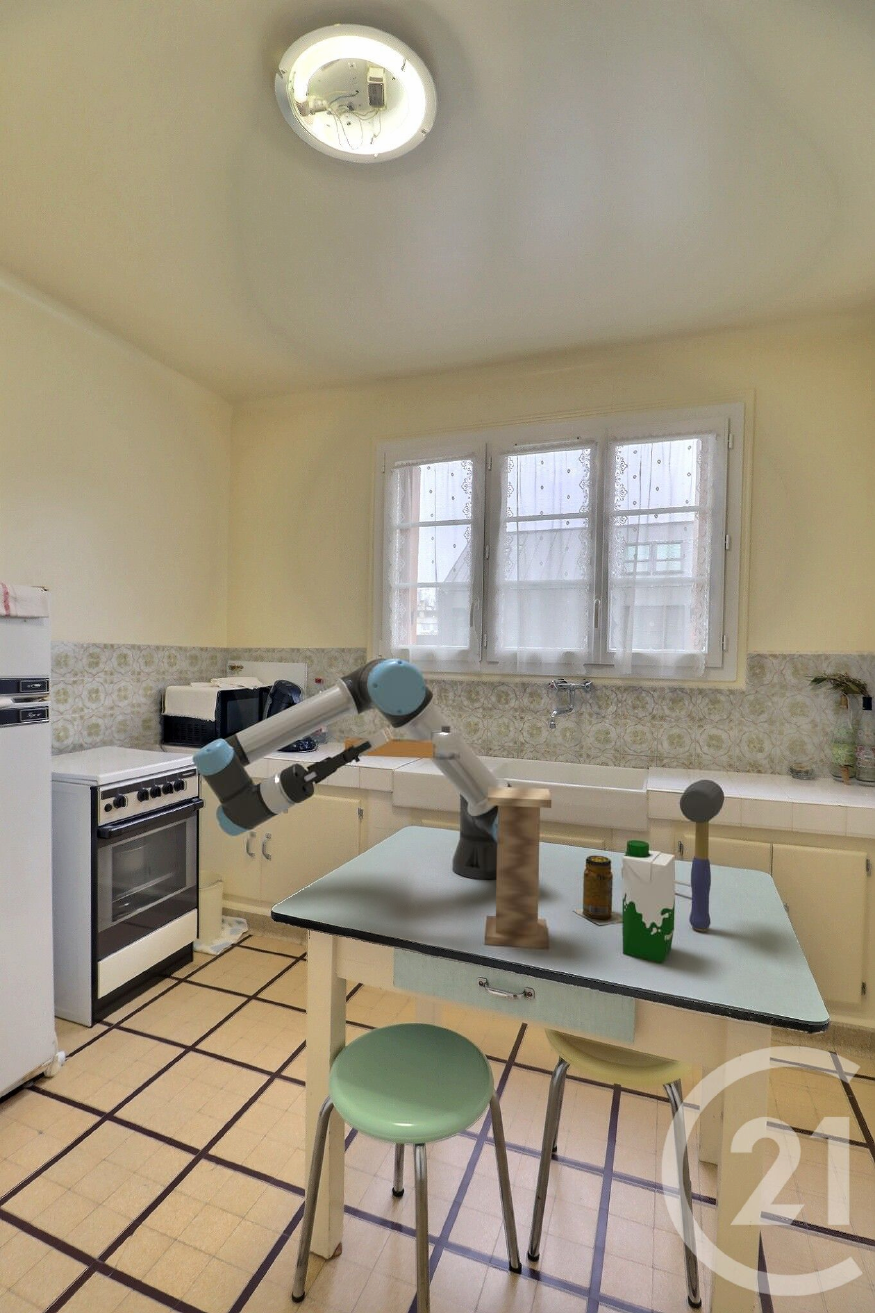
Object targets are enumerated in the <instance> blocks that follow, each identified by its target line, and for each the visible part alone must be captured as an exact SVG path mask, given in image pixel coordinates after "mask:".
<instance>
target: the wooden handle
mask: <svg viewBox="0 0 875 1313" xmlns="http://www.w3.org/2000/svg"><path fill="white" fill-rule="evenodd" d="M366 738H367V737H348V738H346V739H345V740H344V750H345V749H349V747H352V746H353V745H355V744H356V743H358V742H360V741H362V740H364V739H366ZM461 738H462V732H461V731H459V730H455V731H452V730H450V726H442V730H436V731H431V740H413V739H410V738H408V739H407V738H406V739H405V738H402V739H401V738H393V739H388V741H389V742H387V743H385V744H383V745H381V746H380V747H378V748H376V749H374V750H372V751H370V752H369V753H367V754H365V755H363V756H362V757H380V758H381V757H386V758H411V759H412V758H413V759H430V758H433V759H440V760H454V759H460V758H461ZM353 748H355V747H354V746H353ZM358 757H359V755H358Z"/></svg>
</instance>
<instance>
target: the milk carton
mask: <svg viewBox="0 0 875 1313" xmlns="http://www.w3.org/2000/svg"><path fill="white" fill-rule="evenodd" d="M675 858H676V856H675V854H671V853H669V854H668V853H664V852H662V851H659V850H655V851H654V850H650V844H649V843H648V842H646V841H644V840H637V839H633V840H632V839H631V840H627V842H626V851H625V854H624V855H623V857H622V867H623V878H622V906H621V907H622V910H621V911H622V912H621V915H622V916H621V917H622V921H621V923H622V924H621V925H622V926H621V927H622V928H621V929H622V931H621V932H622V933H621V934H622V954H624V955H628V956H630V957H631V956H632V957H635V958H639V959H643V960H647V961H651V962H654V963H658V964H663V963H664V961H665V959H666V958H667V957H668V954H669V952H670V951H671V949H672V943H673V938H674V932H675V913H676V912H675V909H676V907H675V906H676V902H675V900H676V895H675V894H676V883H675V880H676V865H675V864H676V862H675V861H676V859H675Z"/></svg>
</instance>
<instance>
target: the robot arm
mask: <svg viewBox="0 0 875 1313" xmlns="http://www.w3.org/2000/svg"><path fill="white" fill-rule="evenodd" d="M434 697H435V695H434V693H433V692H432V691H431V690H430V688H429V687H428V686H427V685H426V682H425V678H424V676H423V674H422V672H421V671H420V669H418V668H417V667H416V666H415V665H414V664H412V663H411V662H410V661H409V662H408V661H406V660H404V659H400V658H376V659H373V660H371V661H368V662H367V663H364V664H363V665H361V666H360V667H358V668H357V669H355V670H353V671H351V672H350V673H348V674H346V675H344V676H342V677H340V678H338V679H337V682H336V684H335V685H334V686H331V687H329V688H328V689H325V690H323V691H321V692H319V693H317V694H315V695H313V696H310V697H309V698H307V699H305V700H302V701H301V702H298V703H296V704H295V705H292V706H290V707H289V708H286V709H284V710H281V711H280V712H278V713H276V714H274V715H272V716H270V717H268V718H266V719H263V720H261V721H259V722H258V723H256V724H253V725H252V726H249V727H247V728H246V729H243V730H241V731H239V732H237V733H235V734H234V735H231V736H229V737H227V738H224V739H223V738H218V739H215V740H213V741H212V742H210V743H207V744H206V745H205V746H203V747H202V748H200V749H199V750H198V751H197V752H196V753H194V755H193V756H192V763H193V764H194V765H195V768H196V769H197V772H198V773H199V775H201V776H202V777H203V779H204V780H205V781H206V783H207V785H208V786H209V788H210V789H211V791H212V792H213V793H214V795H215V796H216V798H217V799H218V801H219V802H220V804H219V805H218V806H217V809H216V812H215V814H216V820H217V822H218V826H219V827H220V829H221V830H222V831H223V833H225V834H227V835H229V836H231V837H237V836H239V835H241V834H245V833H246V832H248V831H251V830H254V829H255V828H256V827H258V826H260V825H262V824H264V823H266V822H267V821H268V820H271V819H272V818H274V817H277V815H280V814H281V813H283V814H286V815H287V814H288V813H289V809H291V808H293V807H294V806H296V805H297V804H300V803H302V802H305V801H306V800H308V799H310V798H311V797H313V796H314V794H315V785H317V784H319V783H321V782H322V781H324V780H326V779H327V778H328V777H330V776H332V774H335V773H336V772H337V771H338V769H340V768H342V767H343V766H345V765H347V764H351V763H352V762H353V761H355V763H359V762H360V761H361V759H360V758H361V757H364V756H363V755H365V754H367V753H369V752H370V751H372V750H374V749H376V748H378V747H380V746H381V745H383V744H385V743H387V742H389V741H388V739H394V737H393V735H392V734H391V732H390V730H389V728H388V727H387V726H385V727H384V728H382V729H380V730H378V731H376V732H375V733H372V734H371V735H369V736H367V737H365V738H366V739H364V740H362V741H360V742H358V743H356V744H355V745H353V746H354V747H355V748H353V746H352V747H349V749H345V748H344V750H343V751H342V752H339V753H337V754H336V755H334V756H327V757H325V758H324V759H321V760H320V761H316V762H313V763H312V764H310V765H308V766H307V767H306V769H305V766H303V765H301V764H300V763H294V764H291V765H290V766H288V767H286V768H285V769H282V770H281V772H276V773H275V774H273V775H271V776H269V777H268V778H266V779H264V780H262V781H261V782H259V783H258V784H257V783H256V784H255V782H254V781H253V779H252V777H251V776H250V775H249V773H248V771H247V770H246V767H247V766H249V765H251V764H253V763H254V762H256V761H258V760H261V759H263V758H265V757H267V756H269V755H271V754H273V753H275V752H276V751H278V750H281V749H282V748H284V747H287V746H288V745H291V744H293V743H295V742H297V741H298V740H301V739H302V738H305V737H306V736H308V735H311V734H313V733H314V732H317V731H318V730H320V729H322V728H323V729H324V727H327V726H328V725H331V724H333V723H335V722H337V721H338V720H341V719H342V718H344V717H347V716H348V715H353V716H358V715H360V714H362V713H365V712H366V711H370V710H374V709H376V710H377V711H378V712H379V713H380V715H382V716H383V717H384V719H385V721H387V722H388V723H389V724H390V725H391V726H392V728H393V729H395V730H404V731H405V732H406V733H407V734H408V736H410V737H411V740H431V731H436V730H442V726H450V730H452V731H456V730H455V728H454V727H453V726H452V724H451V723H450V722H449V721H448V720H447V719H446V718H445V716H444V715H443V714H442V712H440V711H439V709H438V708H437V707H436V706H435V705H434V699H435V698H434ZM358 755H359V756H358ZM429 760H430V761H431V762H432V763H433V765H435V767H436V768H437V769H439V771H440V772H441V774H443V775H444V777H446V779H447V780H448V781H449V782H450V784H452V786H453V787H454V788H455V789H456V790H457V792H458V793H459V798H460V800H459V802H460V803H459V806H460V807H459V838H458V839H459V840H458V843H457V845H456V848H455V851H454V854H453V857H452V864H451V866H452V867H451V868H452V871H453V872H454V873H455V874H457V875H460V876H462V877H464V878H468V879H476V880H494V879H496V880H497V833H498V805H487V797H488V791H489V787H512V788H513V786H512V785H510V783H509V782H508V780H507V779H505V777H504V778H503V777H496V776H495V775H494V774H493V773H492V771H491V770H490V769H489V768H488V767H487V765H486V764H485V763H484V762H483V761H482V760H481V759H480V758H479V756H478V755H477V754H476V753H475V752H474V751H473V749H472V748H471V747H470V746H469V745H468V743H466V741H465V740H464V739H463V737H461V758H460V759H454V760H440V759H433V758H429ZM314 784H315V785H314Z"/></svg>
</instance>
